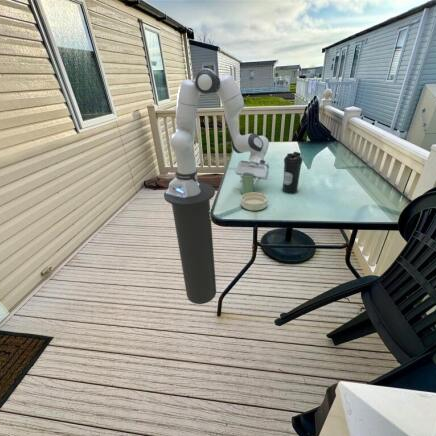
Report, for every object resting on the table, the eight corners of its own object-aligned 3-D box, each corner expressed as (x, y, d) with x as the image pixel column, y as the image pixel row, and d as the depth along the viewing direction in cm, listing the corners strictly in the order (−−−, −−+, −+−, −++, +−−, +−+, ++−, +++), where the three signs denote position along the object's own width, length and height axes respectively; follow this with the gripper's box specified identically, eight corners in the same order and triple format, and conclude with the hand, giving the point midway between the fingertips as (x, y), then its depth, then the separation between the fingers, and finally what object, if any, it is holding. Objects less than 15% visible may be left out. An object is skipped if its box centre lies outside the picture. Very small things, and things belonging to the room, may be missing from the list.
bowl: (238, 209, 130) (238, 202, 128) (244, 198, 142) (244, 191, 140) (264, 213, 126) (264, 205, 124) (269, 201, 138) (269, 193, 136)
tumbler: (240, 195, 146) (241, 175, 139) (243, 190, 151) (243, 171, 145) (251, 196, 144) (252, 176, 138) (254, 191, 149) (254, 172, 143)
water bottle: (277, 190, 150) (280, 153, 138) (288, 185, 155) (292, 149, 143) (291, 195, 143) (295, 157, 131) (301, 190, 148) (307, 153, 136)
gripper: (237, 157, 148) (230, 178, 146) (269, 162, 138) (261, 184, 136) (241, 162, 153) (234, 182, 151) (272, 167, 144) (264, 188, 142)
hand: (247, 183), depth 144 cm, fingers closed on tumbler, 6 cm apart
